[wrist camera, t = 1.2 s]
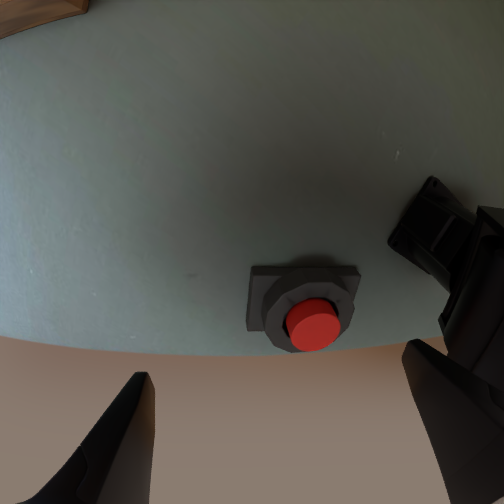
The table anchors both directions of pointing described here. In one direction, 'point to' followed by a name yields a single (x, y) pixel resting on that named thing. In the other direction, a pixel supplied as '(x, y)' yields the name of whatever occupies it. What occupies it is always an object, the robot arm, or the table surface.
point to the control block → (297, 297)
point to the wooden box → (36, 13)
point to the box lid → (3, 1)
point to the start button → (312, 324)
